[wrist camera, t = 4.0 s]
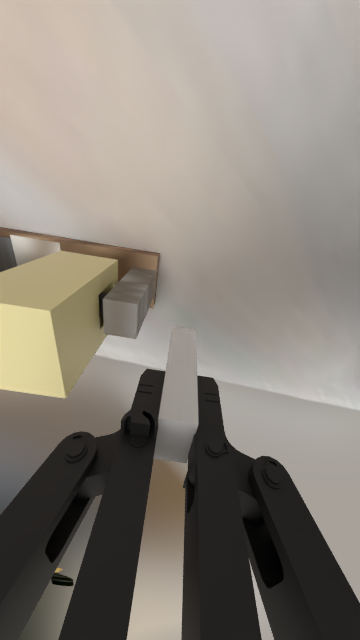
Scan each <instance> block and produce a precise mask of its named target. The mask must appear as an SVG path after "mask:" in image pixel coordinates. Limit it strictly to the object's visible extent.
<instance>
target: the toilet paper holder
mask: <svg viewBox="0 0 360 640" xmlns="http://www.w3.org/2000/svg"><path fill="white" fill-rule="evenodd" d="M58 251H67V252H73V253H79V254H85V255H91V256H97V257H104V258H110V259H116V260H118V283H117V284H116V285H115V286H114V288H113V289H112V290H111V291H110V292H109V293H106V292H101V293H100V294H99V295H98V296H99V316H103V319H104V334H108V335H114V336H121V337H127V338H134V339H136V338H137V335H138V333H139V331H140V328H141V326H142V323H143V321H144V319H145V316H146V314H147V312H148V309H149V308H153V306H154V304H155V295H156V285H157V275H158V265H159V254H160V253H154V252H148V251H141V250H135V249H129V248H123V247H117V246H111V245H105V244H99V243H93V242H87V241H80V240H74V239H68V238H62V237H56V236H50V235H44V234H38V233H32V232H26V231H19V230H13V229H7V228H1V227H0V272H3V271H5V270H8V269H11V268H14V267H17V266H19V265H22V264H25V263H28V262H31V261H33V260H36V259H39V258H42V257H45V256H47V255H50V254H53V253H56V252H58Z"/></svg>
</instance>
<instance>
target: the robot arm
mask: <svg viewBox="0 0 360 640" xmlns="http://www.w3.org/2000/svg"><path fill="white" fill-rule="evenodd" d="M153 459H161V460H168V461H175V462H183V463H187V460H188V472H187V475H186V478H185V481H184V485H183V488H185V489H186V490H185V492H186V493H185V527H184V565H183V606H182V607H183V608H182V640H262V639H261V633H260V628H259V627H260V626H259V620H258V614H257V608H256V601H255V595H254V588H253V582H252V576H251V570H250V563H251V566H252V570H253V573H254V576H255V579H256V582H257V586H258V589H259V592H260V595H261V598H262V602H263V605H264V608H265V611H266V614H267V618H268V621H269V624H270V627H271V630H272V633H273V637H274V640H360V603H359V601H358V599H357V597H356V596H355V594H354V592H353V590H352V588H351V586H350V585H349V583H348V581H347V579H346V577H345V575H344V574H343V572H342V570H341V568H340V567H339V565H338V563H337V561H336V559H335V557H334V556H333V554H332V552H331V550H330V548H329V547H328V545H327V543H326V541H325V539H324V537H323V535H322V534H321V532H320V530H319V528H318V526H317V525H316V523H315V521H314V519H313V517H312V515H311V514H310V512H309V510H308V508H307V507H306V504H305V503H304V501H303V499H302V497H301V495H300V494H299V492H298V490H297V488H296V486H295V484H294V483H293V481H292V479H291V477H290V475H289V474H288V472H287V471H286V470H285V468H284V467H283V465H281V464H280V463H279V462H278V461H277V460H275V459H273V458H271V457H269V456H261V457H259V458H257V459H256V460H255V459H253V458H251V457H249V456H247V455H245V454H243V453H241V452H239V451H237V450H236V449H235V448H234V447H233V446H232V445H231V444H230V443H229V442H228V440H227V438H226V436H225V432H224V426H223V419H222V412H221V405H220V397H219V390H218V385H217V384H216V382H215V380H214V379H213V378H210V377H203V376H197V353H196V330H193V329H187V328H180V327H174V326H173V328H172V335H171V341H170V347H169V354H168V360H167V366H166V372H165V371H158V370H152V369H146V371H145V372H144V373H143V374H142V375H141V377H140V381H139V384H138V387H137V391H136V394H135V398H134V401H133V404H132V408H131V410H130V411H129V412H127V413H126V414H125V415H124V417H123V418H122V420H121V429H120V430H119V431H117V432H115V433H113V434H110V435H106V436H101V437H96V438H95V437H94V436H93V435H91V434H90V433H88V432H76V433H73V434H71V435H69V436H67V437H66V438H65V439H64V440H62V441H61V442H60V443H59V444H58V446H57V447H56V448H55V450H54V451H53V452H52V453H51V454H50V455H49V457H48V458H47V459H46V460H45V462H44V463H43V464H42V465H41V466H40V468H39V469H38V470H37V471H36V472H35V474H34V475H33V476H32V477H31V479H30V480H29V481H28V482H27V483H26V485H25V486H24V487H23V488H22V490H21V491H20V492H19V493H18V494H17V496H16V497H15V498H14V499H13V501H12V502H11V503H10V504H9V506H8V507H7V508H6V509H5V510H4V511H3V513H2V514H1V515H0V640H18V639H19V637H20V635H21V633H22V631H23V629H24V627H25V626H26V624H27V622H28V620H29V618H30V616H31V614H32V612H33V611H34V609H35V607H36V605H37V603H38V601H39V600H40V598H41V596H42V594H43V592H44V590H45V589H46V587H47V585H48V583H49V581H50V579H51V578H52V576H53V574H54V572H55V570H56V568H57V566H58V565H59V563H60V561H61V559H62V557H63V555H64V553H65V551H66V550H67V548H68V546H69V544H70V542H71V541H72V539H73V537H74V535H75V533H76V531H77V529H78V528H79V526H80V524H81V522H82V520H83V518H84V517H85V515H86V513H87V511H88V509H89V507H90V505H91V503H92V502H93V500H94V498H95V496H98V495H102V494H103V495H102V499H101V502H100V505H99V508H98V512H97V515H96V518H95V521H94V525H93V528H92V531H91V535H90V538H89V541H88V544H87V548H86V551H85V555H84V558H83V561H82V564H81V567H80V571H79V574H78V577H77V581H76V584H75V587H74V590H73V594H72V597H71V600H70V604H69V607H68V610H67V613H66V617H65V620H64V624H63V627H62V630H61V633H60V637H59V640H126V639H127V632H128V626H129V619H130V612H131V606H132V599H133V592H134V586H135V579H136V571H137V566H138V559H139V552H140V545H141V539H142V532H143V525H144V519H145V512H146V505H147V498H148V492H149V485H150V478H151V472H152V465H153ZM249 560H250V563H249Z"/></svg>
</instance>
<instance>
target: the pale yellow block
mask: <svg viewBox="0 0 360 640" xmlns="http://www.w3.org/2000/svg"><path fill="white" fill-rule="evenodd" d="M117 283H118V260H116V259H110V258H104V257H97V256H91V255H85V254H79V253H73V252H67V251H58V252H56V253H53V254H50V255H47V256H45V257H42V258H39V259H36V260H33V261H31V262H28V263H25V264H22V265H19V266H17V267H14V268H11V269H8V270H5V271H3V272H0V389H4V390H11V391H18V392H25V393H32V394H38V395H45V396H52V397H60V398H66V397H67V396H68V394H69V393H70V391H71V390H72V388H73V387H74V385H75V383H76V382H77V380H78V379H79V377H80V376H81V374H82V373H83V371H84V370H85V368H86V367H87V365H88V364H89V362H90V361H91V359H92V358H93V356H94V354H95V353H96V351H97V350H98V348H99V347H100V345H101V344H102V342H103V341H104V339H105V338H106V336H107V335H108V334H104V319H103V316H99V296H98V295H99V294H100V293H101V292H106V293H109V292H110V291H111V290H112V289H113V288H114V286H115V285H116V284H117Z"/></svg>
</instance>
